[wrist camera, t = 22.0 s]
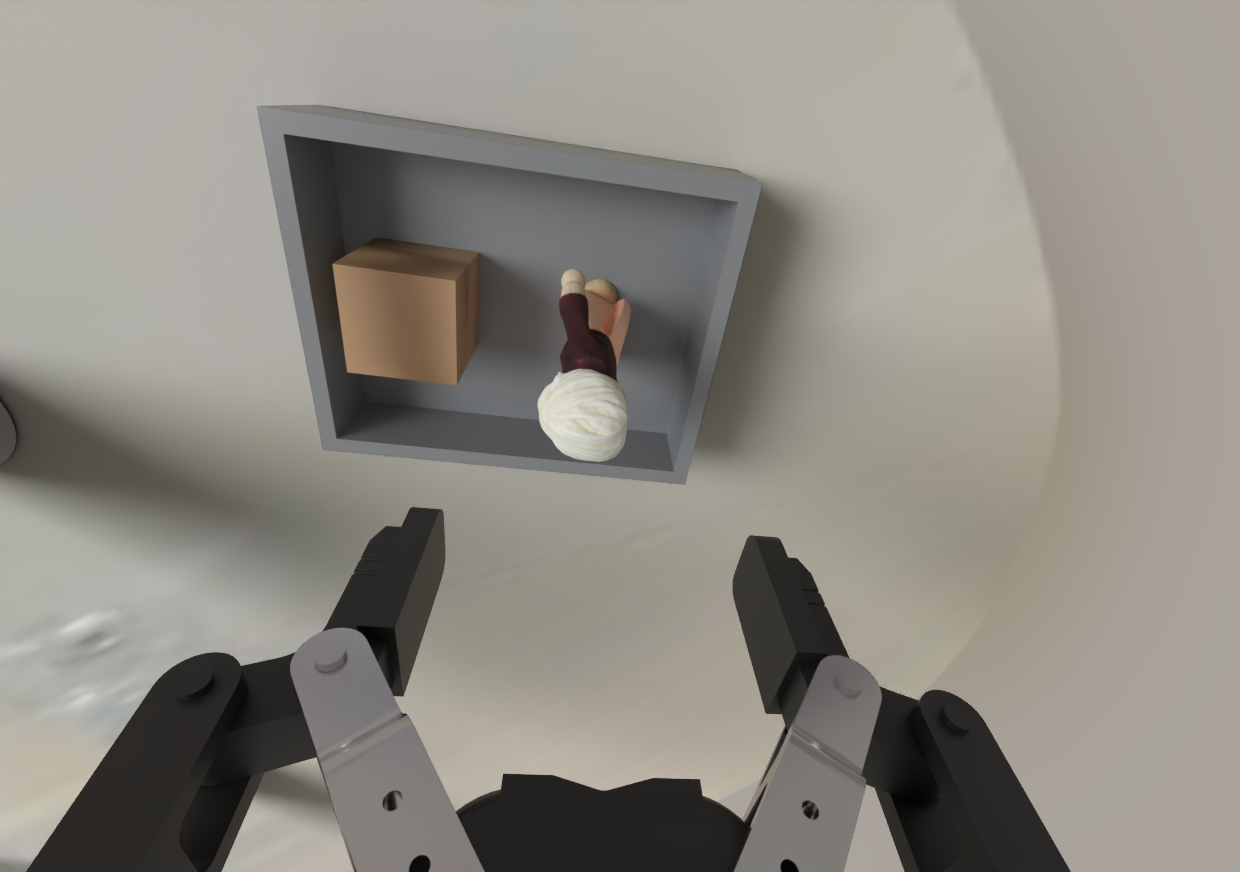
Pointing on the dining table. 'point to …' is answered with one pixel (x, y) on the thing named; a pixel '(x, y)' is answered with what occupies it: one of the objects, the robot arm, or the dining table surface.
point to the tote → (510, 279)
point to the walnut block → (408, 310)
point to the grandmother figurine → (588, 372)
